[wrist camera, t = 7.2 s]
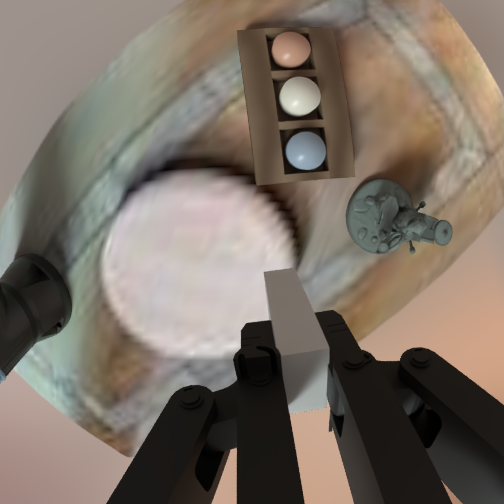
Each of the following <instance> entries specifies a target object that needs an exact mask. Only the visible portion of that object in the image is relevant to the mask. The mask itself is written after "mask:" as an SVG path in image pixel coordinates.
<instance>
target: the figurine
mask: <svg viewBox="0 0 504 504" xmlns="http://www.w3.org/2000/svg"><path fill="white" fill-rule="evenodd" d="M425 205H426V204H425V202H423V201H422V202H421V203H420V204H419V207H418V208H417V209H415V208H414V207H413V206H412V202H411V199H410V197H409V195H408V193H407V192H406V191H405V189H404V188H403V187H402V186H401V185H399V184H398V183H396V182H394V181H391V180H387V179H373V180H370V181H367V182H365V183H364V184H362V185H361V186H360V187H359V188H358V189H357V190H356V191H355V192H354V193H353V195H352V197H351V199H350V201H349V203H348V206H347V211H346V224H347V228H348V231H349V234H350V236H351V238H352V239H353V241H354V242H355V243H356V244H357V245H358V246H360V247H361V248H362V249H364V250H365V251H367V252H370V253H375V254H385V253H387V252H391V251H393V250H395V249H397V248H398V247H399V246H400V245H401V244H402V243H403V242H408V241H409V243H410V247H411V248H410V253H412V254H413V253H415V248H414V247H413V246H412V242H411V240H415V241H418V242H420V241H424V242H428V243H432V244H434V240H435V242H436V243H437V244H438V245H441V246H444V245H446V244H448V243H449V242H450V240H451V238H452V226H451V224H450V223H449V222H448V221H446V220H440V221H439V220H438V219H436V218H434V217H430V216H427V215H426V214H423V213H419V212H418V210H419V209H420V208H423V207H424V206H425ZM438 221H439V222H438Z"/></svg>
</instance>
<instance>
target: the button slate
mask: <svg viewBox="0 0 504 504" xmlns="http://www.w3.org/2000/svg"><path fill="white" fill-rule="evenodd" d="M284 154H285V158H286V160H287V161H288V163H289V164H290V165H292V166H293V167H295V168H298V169H304V170H311V169H314V168H317V167H318V166H319V165H321V163H322V162H323V161H324V159H325V155H326V148H325V144H324V142H323V141H322V139H321V138H320V137H319V136H318V135H316V134H314V133H312V132H301V133H298V134H296V135H294V136H292V137H291V138H290V139H289V140H288V141H287V142H286V145H285V148H284Z"/></svg>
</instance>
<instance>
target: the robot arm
mask: <svg viewBox="0 0 504 504" xmlns="http://www.w3.org/2000/svg"><path fill="white" fill-rule="evenodd" d="M264 279H265V287H266V296H267V304H268V313H269V320H267V321H259V322H251V323H246V324H245V326H244V327H243V329H242V330H241V349H240V350H239V351H238V352H237V353H236V354H235V356H234V358H233V361H234V366H235V371H236V375H237V380H236V381H235V382H234V383H233V384H232V385H230V386H229V387H227V388H224V389H221V390H218V391H215V392H212V391H211V390H210V389H208V388H207V387H204V386H200V385H190V386H186V387H183V388H181V389H179V390H177V391H176V392H175V393H174V394H173V395H172V396H171V398H170V399H169V401H168V403H167V404H166V406H165V408H164V409H163V411H162V413H161V414H160V416H159V418H158V419H157V421H156V423H155V424H154V426H153V428H152V429H151V431H150V433H149V434H148V436H147V437H146V439H145V441H144V442H143V444H142V446H141V447H140V449H139V451H138V452H137V454H136V456H135V457H134V459H133V461H132V462H131V464H130V466H129V467H128V469H127V471H126V472H125V474H124V475H123V477H122V479H121V480H120V482H119V484H118V485H117V487H116V489H115V490H114V492H113V493H112V495H111V497H110V498H109V500H108V502H107V503H106V504H211V503H212V500H213V498H214V495H215V492H216V490H217V487H218V484H219V481H220V479H221V476H222V473H223V470H224V467H225V465H226V462H227V459H228V456H229V453H230V449H234V448H237V504H305V503H304V497H303V491H302V485H301V479H300V473H299V467H298V461H297V455H296V449H295V443H294V437H293V432H292V426H291V420H290V414H293V413H300V412H305V411H312V410H317V409H323V408H327V399H328V402H329V405H330V408H331V409H330V420H329V432H330V431H332V427H333V431H334V434H335V437H336V440H337V444H338V448H339V451H340V455H341V458H342V462H343V465H344V469H345V472H346V476H347V479H348V483H349V486H350V490H351V494H352V497H353V501H354V504H452V502H451V500H450V498H449V496H448V493H447V491H446V489H445V487H444V485H443V483H442V481H443V482H444V484H445V485H446V486H447V487H448V488H449V489H450V490H451V491H452V493H454V495H455V496H456V497H457V498H458V499H459V500H460V501H461V502H462V503H463V504H504V405H503V404H502V403H500V402H499V401H498V400H497V399H495V398H494V397H493V396H491V395H490V394H489V393H487V392H486V391H485V390H484V389H482V388H481V387H480V386H479V385H477V384H476V383H475V382H473V381H472V380H471V379H469V378H468V377H467V376H465V375H464V374H463V373H462V372H460V371H459V370H458V369H456V368H455V367H454V366H452V365H451V364H450V363H448V362H447V361H446V360H444V359H443V358H442V357H440V356H439V355H438V354H436V353H435V352H433V351H431V350H429V349H426V348H421V347H420V348H412V349H409V350H407V351H405V352H404V353H403V354H402V356H401V358H400V361H378V360H376V359H375V358H374V357H373V356H372V354H371V353H369V352H367V351H364V350H361V349H360V347H359V346H358V343H357V342H356V340H355V338H354V336H353V335H352V333H351V331H350V330H349V328H348V326H347V324H345V321H344V319H343V318H342V316H341V315H340V314H338V313H337V312H335V311H334V310H329V311H323V312H317V313H314V311H313V309H312V306H311V304H310V302H309V300H308V297H307V295H306V293H305V291H304V289H303V286H302V284H301V282H300V280H299V278H298V275H297V273H296V271H295V269H294V268H290V269H282V270H275V271H267V272H264ZM70 316H71V301H70V296H69V293H68V290H67V288H66V285H65V283H64V281H63V279H62V278H61V276H60V275H59V273H58V272H57V270H56V269H55V268H54V267H53V266H52V265H51V264H50V263H49V262H48V261H47V260H45V259H44V258H42V257H40V256H38V255H35V254H25V255H23V256H21V257H19V258H17V259H16V260H14V261H13V262H12V263H11V264H10V266H9V267H8V268H7V270H6V271H5V273H4V274H3V275H2V277H1V278H0V383H1V382H2V381H4V380H5V379H6V376H7V375H8V374H9V373H10V372H11V370H12V369H13V368H14V367H15V366H16V364H17V363H18V362H19V361H20V360H21V359H22V358H23V356H24V355H25V354H26V353H27V352H28V351H29V350H30V349H31V348H32V347H33V345H34V344H35V343H37V342H39V341H42V340H44V339H47V338H50V337H52V336H55V335H57V334H58V333H60V332H61V331H62V330H63V328H64V327H65V326H66V325H67V324H68V322H69V320H70ZM441 480H442V481H441Z"/></svg>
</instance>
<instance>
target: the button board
mask: <svg viewBox="0 0 504 504" xmlns="http://www.w3.org/2000/svg"><path fill="white" fill-rule="evenodd" d="M284 32H295V33H298V34H301V35H302V36H304V37H305V38H306V39H307V40H308V42H309V44H310V47H311V51H310V54H309V56H308V58H307V59H306V61H305V62H304V64H303V65H302V66H301V67H300V68H298V69H295V70H285V69H282V68H280V67H278V66H277V65H276V64H275V63H274V62H273V60H272V58H271V50H272V46H273V42H274V40H275V38H276V37H277V36H278V35H279V34H281V33H284ZM237 38H238V47H239V54H240V62H241V69H242V76H243V84H244V92H245V99H246V107H247V115H248V123H249V130H250V138H251V146H252V155H253V163H254V171H255V179H256V184H257V186H258V185H266V184H276V183H285V182H296V181H307V180H319V179H332V178H346V177H355V168H354V156H353V146H352V137H351V128H350V120H349V113H348V106H347V99H346V93H345V87H344V81H343V75H342V70H341V64H340V59H339V54H338V49H337V45H336V40H335V36H334V32H333V28H313V27H283V28H261V29H248V30H238V31H237ZM293 77H305V78H308V79H310V80H312V81H313V82H314V83H315V84H316V85H317V86H318V88H319V90H320V94H321V99H320V103H319V105H318V106H317V107H316V108H315V109H314V110H313V111H311V112H310V113H309V114H307V115H305V116H302V117H294V116H291V115H289V114H287V113H285V112H284V111H283V110H282V108H281V107H280V104H279V99H278V98H279V93H280V91H281V89H282V87H283V85H284V84H285V82H286V81H288V80H289V79H291V78H293ZM301 132H312V133H314V134H316V135H318V136H319V137H320V138H321V139H322V141H323V142H324V144H325V148H326V155H325V159H324V161H323V162H322V163H321V165H319V166H318V167H317V168H314V169H311V170H304V169H298V168H295V167H293V166H292V165H290V164H289V163H288V161H287V160H286V158H285V154H284V148H285V145H286V142H287V141H288V140H289V139H290V138H291V137H292V136H294V135H296V134H298V133H301Z"/></svg>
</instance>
